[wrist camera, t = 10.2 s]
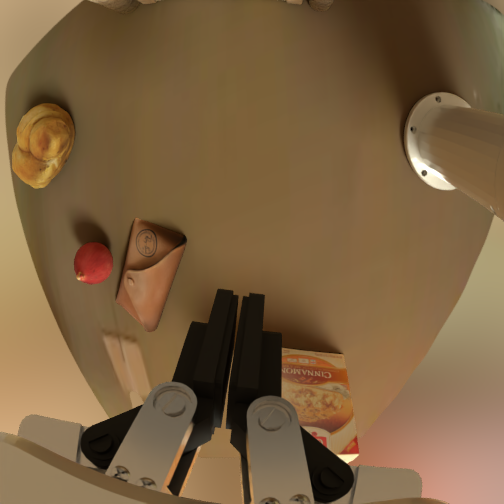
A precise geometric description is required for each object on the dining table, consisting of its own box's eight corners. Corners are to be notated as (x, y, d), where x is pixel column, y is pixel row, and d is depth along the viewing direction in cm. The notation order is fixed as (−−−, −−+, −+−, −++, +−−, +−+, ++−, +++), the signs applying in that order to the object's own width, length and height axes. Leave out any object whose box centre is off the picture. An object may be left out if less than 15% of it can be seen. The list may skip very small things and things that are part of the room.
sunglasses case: (132, 212, 36) (136, 242, 32) (180, 219, 40) (191, 247, 36) (114, 304, 45) (119, 335, 40) (153, 305, 49) (160, 335, 44)
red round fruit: (121, 270, 41) (97, 303, 34) (91, 261, 41) (64, 290, 34) (122, 238, 38) (94, 268, 31) (89, 228, 38) (59, 255, 31)
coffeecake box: (344, 353, 46) (361, 454, 30) (330, 377, 50) (340, 470, 33) (259, 342, 46) (250, 451, 29) (252, 368, 50) (242, 466, 33)
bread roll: (56, 195, 36) (22, 216, 29) (22, 158, 33) (-13, 173, 26) (93, 126, 31) (55, 136, 24) (54, 89, 28) (14, 94, 21)
